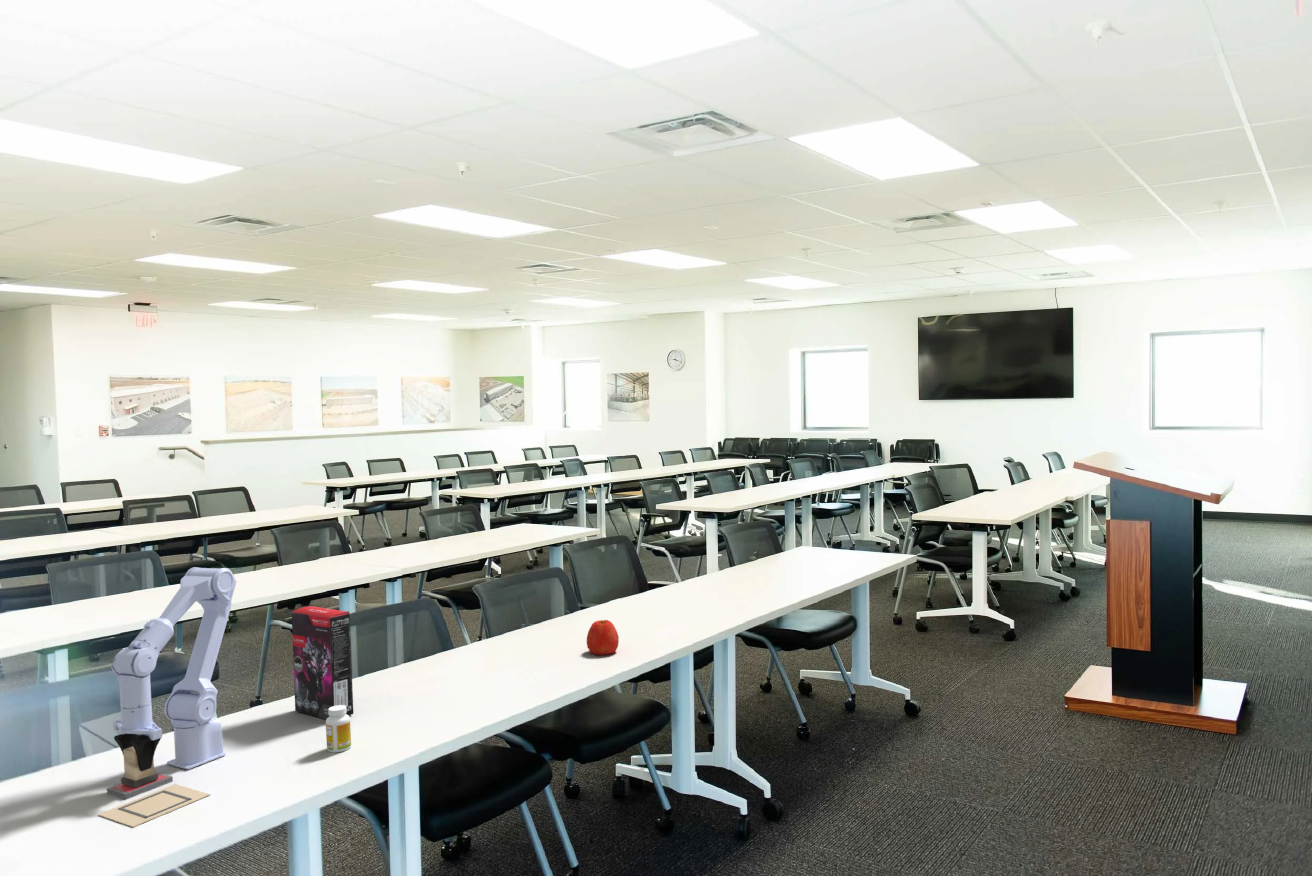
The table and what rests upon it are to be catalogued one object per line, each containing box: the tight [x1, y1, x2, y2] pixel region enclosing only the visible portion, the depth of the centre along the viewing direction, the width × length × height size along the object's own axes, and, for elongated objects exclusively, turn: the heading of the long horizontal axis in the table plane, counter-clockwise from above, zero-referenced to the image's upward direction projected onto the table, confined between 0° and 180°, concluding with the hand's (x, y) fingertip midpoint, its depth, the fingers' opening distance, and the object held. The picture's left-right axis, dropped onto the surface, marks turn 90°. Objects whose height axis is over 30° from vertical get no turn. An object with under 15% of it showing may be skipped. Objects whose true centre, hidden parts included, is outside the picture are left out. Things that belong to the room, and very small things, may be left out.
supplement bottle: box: [325, 705, 352, 753], centre depth 211 cm, size 5×5×10 cm
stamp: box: [120, 747, 158, 788], centre depth 192 cm, size 5×5×7 cm
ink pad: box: [106, 770, 174, 800], centre depth 192 cm, size 10×7×1 cm
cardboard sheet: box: [97, 783, 211, 828], centre depth 183 cm, size 16×12×1 cm
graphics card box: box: [291, 605, 354, 720], centre depth 236 cm, size 17×7×27 cm, turn 56°
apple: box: [586, 619, 620, 656], centre depth 287 cm, size 10×10×10 cm
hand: (139, 767), depth 192 cm, fingers closed on stamp, 4 cm apart
